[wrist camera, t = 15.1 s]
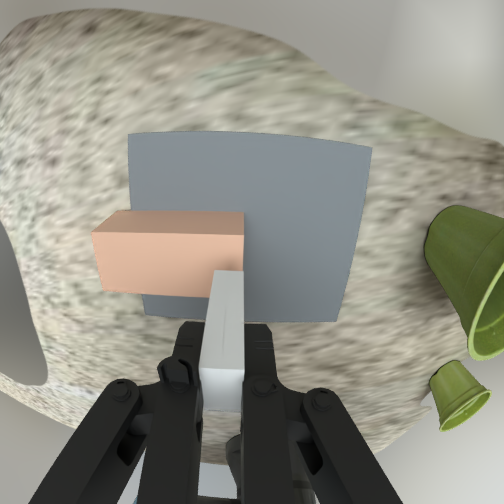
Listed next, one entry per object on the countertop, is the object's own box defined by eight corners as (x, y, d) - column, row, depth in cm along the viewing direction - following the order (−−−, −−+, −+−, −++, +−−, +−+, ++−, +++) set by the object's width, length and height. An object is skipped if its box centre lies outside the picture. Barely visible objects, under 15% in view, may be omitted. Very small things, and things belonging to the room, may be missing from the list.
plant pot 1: (442, 156, 19) (539, 192, 9) (497, 217, 22) (565, 263, 12) (379, 265, 24) (443, 350, 14) (445, 302, 26) (497, 368, 16)
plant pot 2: (463, 374, 34) (484, 409, 26) (418, 399, 35) (436, 439, 28) (470, 342, 30) (498, 381, 22) (420, 371, 32) (444, 417, 24)
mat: (334, 317, 26) (336, 321, 25) (147, 311, 25) (145, 315, 24) (369, 146, 19) (372, 147, 19) (131, 133, 18) (128, 134, 18)
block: (241, 298, 18) (103, 290, 18) (241, 266, 22) (124, 261, 22) (243, 235, 17) (90, 232, 16) (243, 212, 21) (117, 210, 20)
